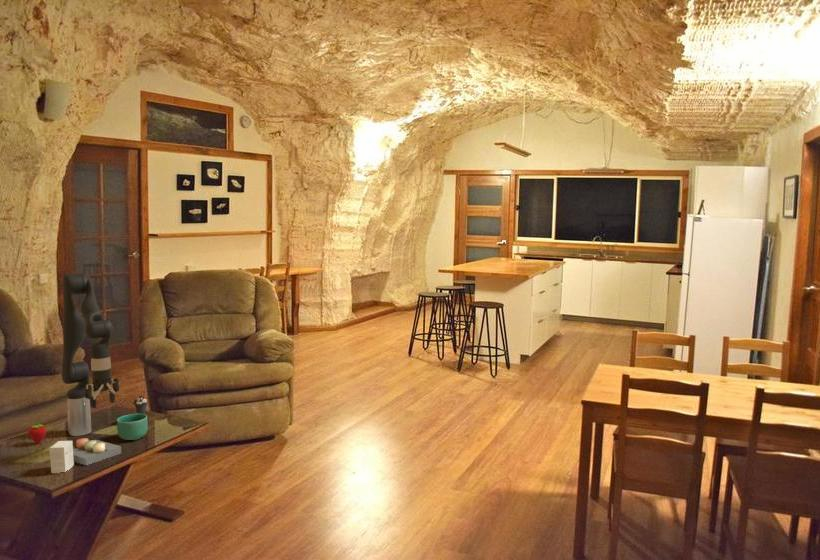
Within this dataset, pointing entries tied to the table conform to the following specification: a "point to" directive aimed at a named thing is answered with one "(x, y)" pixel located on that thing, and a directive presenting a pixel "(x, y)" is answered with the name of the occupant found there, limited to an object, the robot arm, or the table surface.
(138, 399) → the sundae
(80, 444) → the button terracotta
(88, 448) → the button sage
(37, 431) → the strawberry
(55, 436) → the table surface
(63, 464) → the small box
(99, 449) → the button cream
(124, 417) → the mug
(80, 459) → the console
